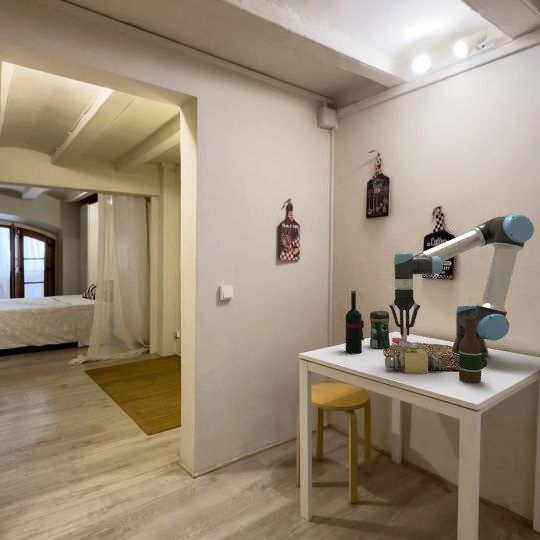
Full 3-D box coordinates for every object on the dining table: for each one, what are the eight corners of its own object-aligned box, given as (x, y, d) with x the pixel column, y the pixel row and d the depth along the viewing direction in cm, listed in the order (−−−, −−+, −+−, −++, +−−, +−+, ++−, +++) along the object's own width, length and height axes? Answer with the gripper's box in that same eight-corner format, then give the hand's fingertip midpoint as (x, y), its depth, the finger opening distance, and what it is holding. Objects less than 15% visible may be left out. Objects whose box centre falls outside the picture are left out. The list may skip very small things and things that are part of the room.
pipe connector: (411, 352, 182) (411, 332, 182) (417, 358, 172) (417, 337, 172) (389, 352, 183) (389, 332, 183) (394, 358, 173) (394, 336, 173)
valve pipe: (437, 367, 159) (437, 346, 158) (444, 373, 152) (444, 350, 151) (384, 367, 160) (384, 346, 159) (388, 373, 153) (388, 350, 152)
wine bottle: (369, 352, 185) (369, 290, 183) (352, 354, 180) (352, 291, 179) (358, 348, 192) (358, 289, 190) (342, 351, 187) (341, 290, 186)
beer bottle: (462, 375, 149) (462, 314, 148) (484, 380, 143) (485, 316, 142) (455, 380, 143) (456, 317, 142) (478, 385, 138) (478, 319, 137)
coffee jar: (381, 344, 200) (381, 309, 199) (392, 347, 193) (392, 311, 192) (366, 346, 196) (366, 310, 195) (377, 349, 188) (377, 312, 188)
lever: (421, 348, 154) (421, 344, 154) (412, 350, 153) (412, 345, 152) (399, 341, 167) (399, 337, 167) (390, 342, 166) (390, 338, 166)
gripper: (389, 289, 161) (390, 344, 162) (421, 289, 158) (422, 345, 159) (387, 288, 168) (388, 340, 169) (418, 287, 166) (419, 341, 166)
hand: (405, 343), depth 164 cm, fingers closed
